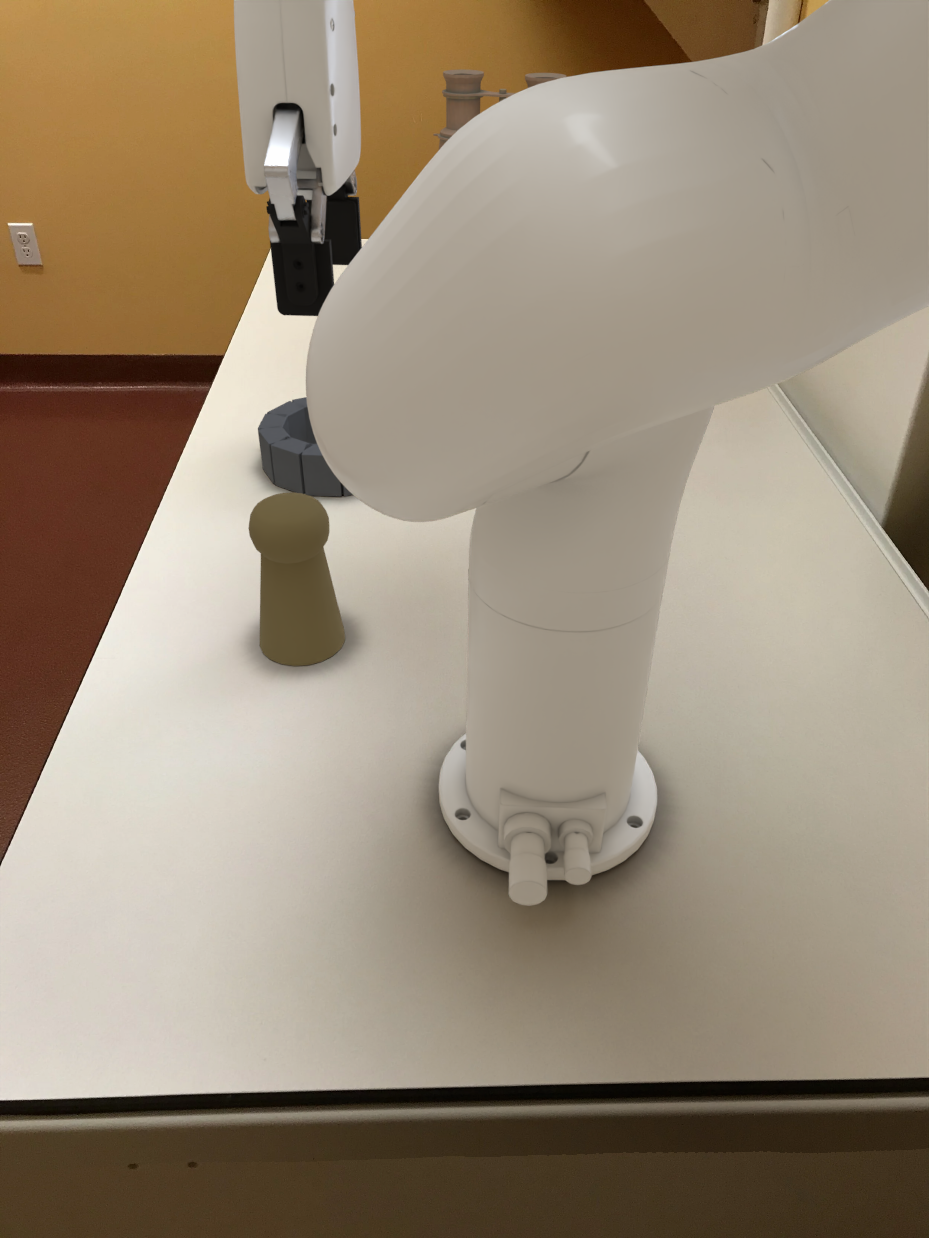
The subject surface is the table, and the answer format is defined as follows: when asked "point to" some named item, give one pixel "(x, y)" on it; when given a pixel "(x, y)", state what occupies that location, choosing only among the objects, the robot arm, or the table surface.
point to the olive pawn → (295, 580)
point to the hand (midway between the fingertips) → (323, 287)
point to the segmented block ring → (295, 452)
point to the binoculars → (473, 97)
